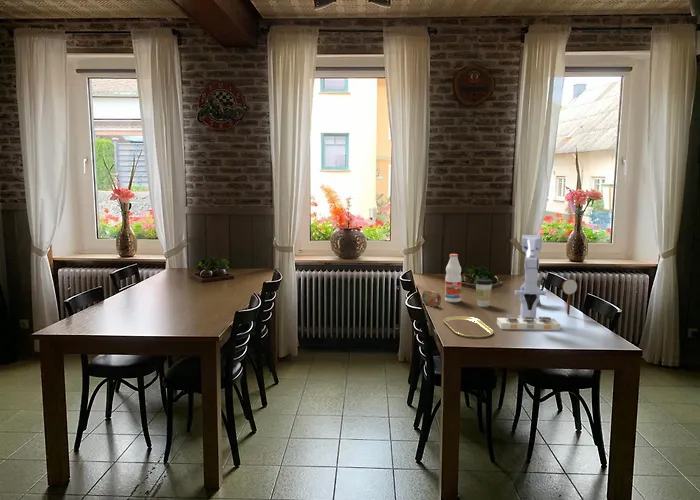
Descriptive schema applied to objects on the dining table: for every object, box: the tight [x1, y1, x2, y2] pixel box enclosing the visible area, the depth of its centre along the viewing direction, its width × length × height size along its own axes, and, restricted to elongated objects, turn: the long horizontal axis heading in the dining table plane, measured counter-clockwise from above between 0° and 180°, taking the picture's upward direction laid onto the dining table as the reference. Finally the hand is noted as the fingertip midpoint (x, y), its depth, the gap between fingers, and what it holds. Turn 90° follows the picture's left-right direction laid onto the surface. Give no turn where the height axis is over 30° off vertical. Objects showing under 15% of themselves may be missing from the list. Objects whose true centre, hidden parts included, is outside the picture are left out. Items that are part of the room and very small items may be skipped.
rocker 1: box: [505, 314, 518, 321], centre depth 263 cm, size 6×4×1 cm, turn 176°
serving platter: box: [443, 315, 494, 339], centre depth 262 cm, size 19×35×2 cm, turn 6°
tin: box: [421, 289, 442, 308], centre depth 308 cm, size 15×3×8 cm, turn 27°
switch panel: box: [496, 317, 561, 331], centre depth 263 cm, size 10×28×4 cm, turn 86°
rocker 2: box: [538, 316, 552, 320], centre depth 262 cm, size 6×4×1 cm, turn 176°
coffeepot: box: [522, 276, 547, 307], centre depth 310 cm, size 15×9×18 cm, turn 107°
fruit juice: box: [444, 253, 462, 303], centre depth 317 cm, size 9×9×28 cm
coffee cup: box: [474, 278, 494, 308], centre depth 306 cm, size 10×10×15 cm
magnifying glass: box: [561, 278, 579, 317], centre depth 283 cm, size 9×2×20 cm, turn 96°
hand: (529, 309), depth 260 cm, fingers closed
